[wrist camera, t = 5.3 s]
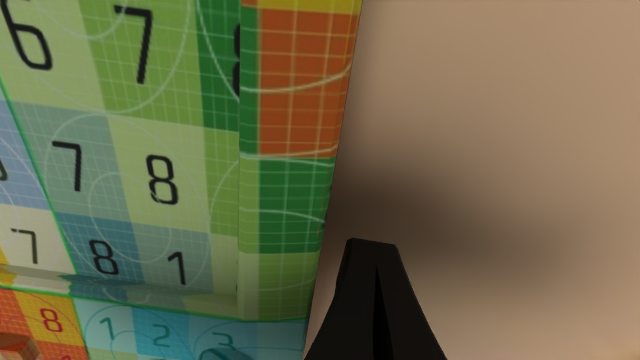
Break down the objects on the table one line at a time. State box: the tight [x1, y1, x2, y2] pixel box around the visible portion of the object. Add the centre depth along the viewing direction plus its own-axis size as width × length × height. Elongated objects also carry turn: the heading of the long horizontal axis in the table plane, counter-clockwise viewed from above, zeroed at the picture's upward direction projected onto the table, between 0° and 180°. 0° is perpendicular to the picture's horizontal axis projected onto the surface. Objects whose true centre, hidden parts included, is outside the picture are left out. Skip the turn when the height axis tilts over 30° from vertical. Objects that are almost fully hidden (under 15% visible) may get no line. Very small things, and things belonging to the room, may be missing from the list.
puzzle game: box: [0, 0, 363, 360], centre depth 12 cm, size 12×5×20 cm
